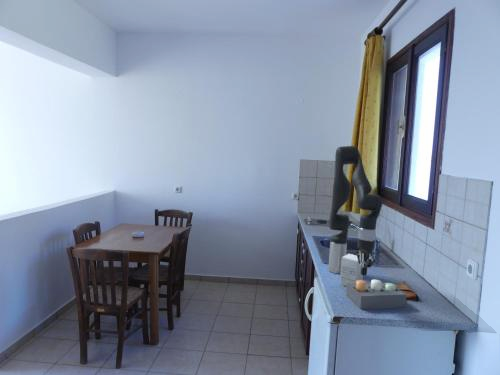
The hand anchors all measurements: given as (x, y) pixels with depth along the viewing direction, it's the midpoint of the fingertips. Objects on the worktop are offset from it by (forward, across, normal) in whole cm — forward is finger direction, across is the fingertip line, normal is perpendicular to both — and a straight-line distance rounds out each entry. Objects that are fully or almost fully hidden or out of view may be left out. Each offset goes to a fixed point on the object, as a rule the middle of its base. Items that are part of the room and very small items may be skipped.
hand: (363, 274), depth 159 cm
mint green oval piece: (+11, 0, +14) cm, 18 cm away
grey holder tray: (+13, 0, +7) cm, 15 cm away
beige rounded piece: (+9, 0, -1) cm, 9 cm away
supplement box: (+13, -20, +5) cm, 25 cm away
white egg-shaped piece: (+9, 0, +7) cm, 11 cm away
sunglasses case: (+14, -7, +27) cm, 31 cm away
